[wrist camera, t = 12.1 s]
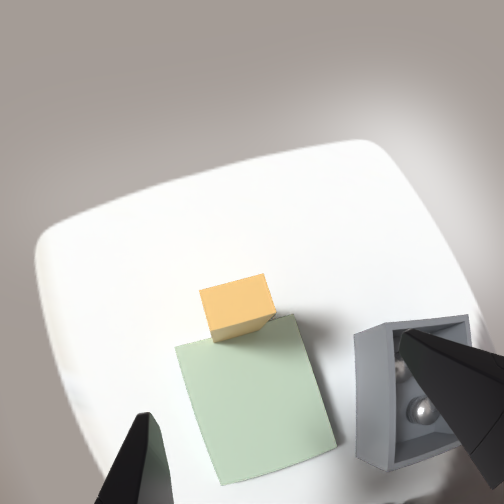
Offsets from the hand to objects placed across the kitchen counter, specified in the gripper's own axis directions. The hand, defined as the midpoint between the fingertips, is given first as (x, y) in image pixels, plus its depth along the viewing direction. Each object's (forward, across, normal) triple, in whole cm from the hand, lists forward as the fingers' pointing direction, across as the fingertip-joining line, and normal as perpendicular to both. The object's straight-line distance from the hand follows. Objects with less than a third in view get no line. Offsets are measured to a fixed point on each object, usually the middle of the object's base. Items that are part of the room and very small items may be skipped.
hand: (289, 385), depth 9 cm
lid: (+8, 0, +9) cm, 12 cm away
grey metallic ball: (+3, -12, +13) cm, 18 cm away
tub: (+5, -11, +12) cm, 17 cm away
